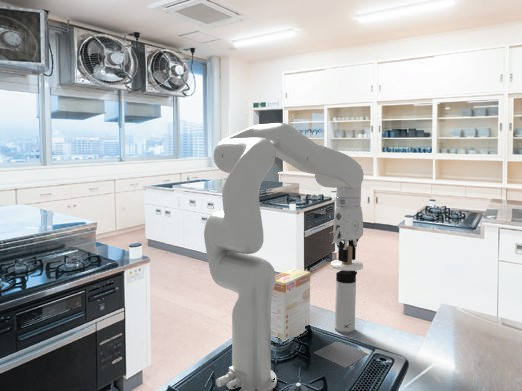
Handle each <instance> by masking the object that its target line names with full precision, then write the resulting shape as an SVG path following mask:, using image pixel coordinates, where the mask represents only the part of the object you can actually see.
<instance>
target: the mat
mask: <svg viewBox="0 0 522 391" xmlns="http://www.w3.org/2000/svg"><path fill="white" fill-rule="evenodd" d="M336 341H337V340H336ZM336 341H334V342H332V343H331V344H329V345H328V344H327V345H326V346H324V347H321V348H320V349H318V350H316V351H314V352H313V354H315V355H317V356H319V357H321V358H323V359H325V360H327V361H330V362H331V363H334V364H336V365H338V366H340V367H343V368H347V367H349V366H351V365H353V364H355V363H356V362H358V361H359V360H361V359H363V358H365V357H367V356H368V355H369V353H367V352H364V351H362V350H360V349H358V348H355V347H353V346H350V345H347V344H345V343H343V342H341V341H337V342H336Z"/></svg>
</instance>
